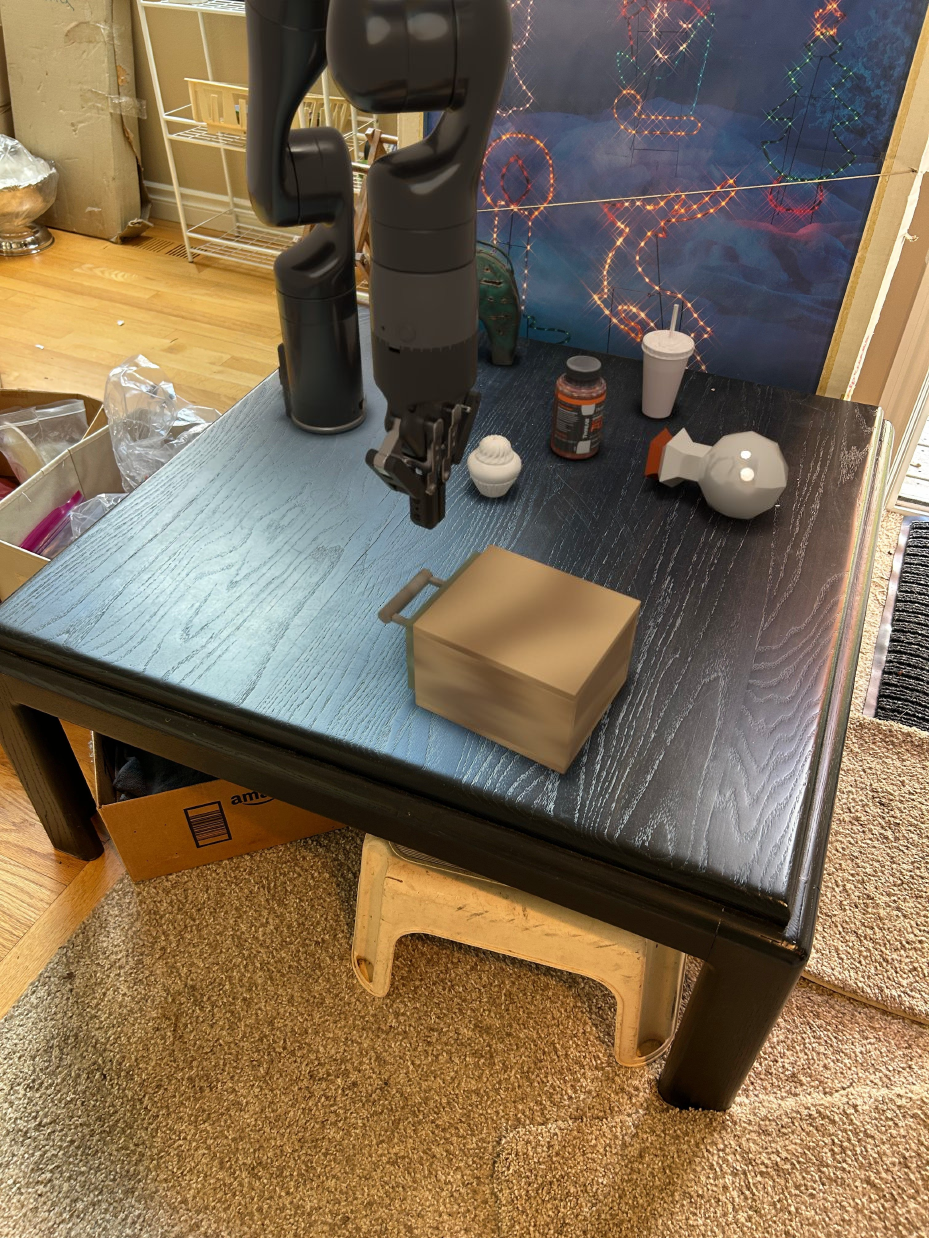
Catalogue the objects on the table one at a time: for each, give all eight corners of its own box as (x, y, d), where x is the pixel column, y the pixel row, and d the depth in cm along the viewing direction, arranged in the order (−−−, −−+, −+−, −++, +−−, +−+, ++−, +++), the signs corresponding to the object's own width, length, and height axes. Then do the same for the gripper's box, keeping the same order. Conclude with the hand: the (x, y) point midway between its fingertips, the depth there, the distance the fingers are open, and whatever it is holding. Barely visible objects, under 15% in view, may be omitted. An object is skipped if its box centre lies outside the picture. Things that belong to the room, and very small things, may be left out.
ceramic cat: (376, 359, 127) (367, 211, 114) (386, 339, 132) (379, 195, 118) (515, 371, 125) (524, 222, 111) (521, 351, 130) (530, 205, 116)
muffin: (458, 498, 102) (458, 444, 98) (477, 470, 107) (478, 418, 102) (509, 510, 101) (512, 456, 96) (527, 481, 105) (530, 429, 100)
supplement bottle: (596, 464, 108) (607, 378, 100) (546, 458, 109) (554, 372, 101) (600, 438, 112) (611, 354, 105) (553, 433, 113) (560, 348, 105)
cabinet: (415, 704, 79) (412, 624, 73) (487, 621, 87) (490, 543, 81) (563, 774, 74) (574, 695, 67) (626, 680, 82) (641, 600, 75)
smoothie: (688, 407, 118) (709, 303, 109) (669, 428, 114) (689, 323, 105) (643, 394, 121) (660, 291, 111) (623, 414, 117) (639, 309, 107)
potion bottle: (773, 543, 99) (649, 509, 107) (806, 465, 101) (681, 437, 108) (763, 508, 91) (630, 474, 99) (799, 424, 93) (665, 397, 100)
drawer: (366, 668, 81) (360, 603, 76) (434, 597, 88) (433, 534, 83) (543, 751, 74) (550, 686, 69) (601, 667, 82) (612, 603, 76)
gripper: (431, 275, 68) (433, 470, 80) (321, 342, 60) (342, 549, 71) (518, 298, 65) (507, 496, 77) (416, 372, 57) (421, 582, 68)
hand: (428, 521), depth 74 cm, fingers closed
